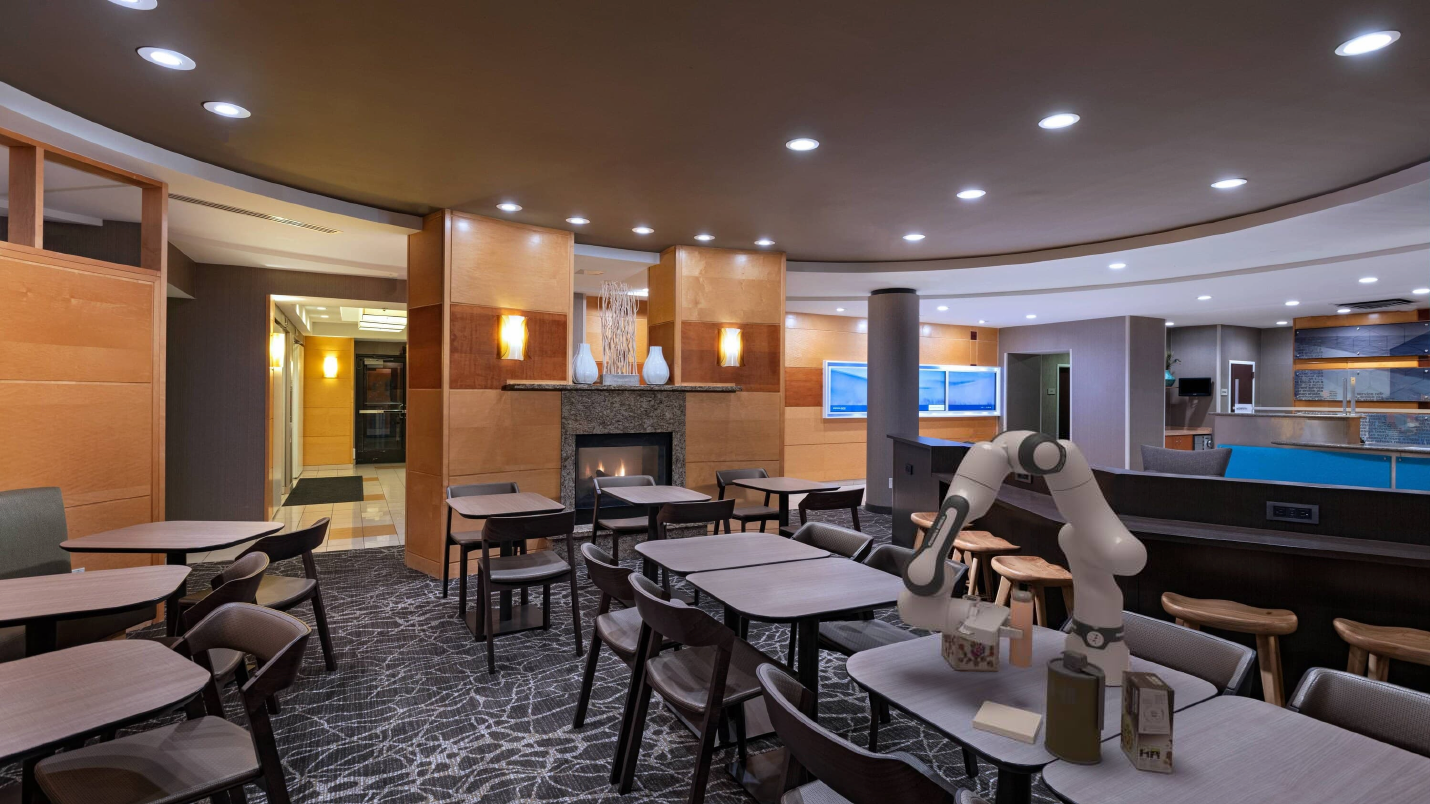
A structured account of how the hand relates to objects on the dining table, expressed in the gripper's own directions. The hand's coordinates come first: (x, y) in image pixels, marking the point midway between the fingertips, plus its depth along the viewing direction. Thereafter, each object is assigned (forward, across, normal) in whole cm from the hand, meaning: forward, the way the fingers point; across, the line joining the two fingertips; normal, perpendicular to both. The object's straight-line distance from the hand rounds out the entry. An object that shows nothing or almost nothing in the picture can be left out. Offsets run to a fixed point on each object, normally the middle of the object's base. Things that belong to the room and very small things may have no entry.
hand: (1025, 630), depth 159 cm
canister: (+12, -17, +18) cm, 27 cm away
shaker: (-1, 0, +8) cm, 8 cm away
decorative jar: (-17, +19, +18) cm, 31 cm away
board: (-1, -12, +18) cm, 21 cm away
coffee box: (+24, -11, +18) cm, 32 cm away
